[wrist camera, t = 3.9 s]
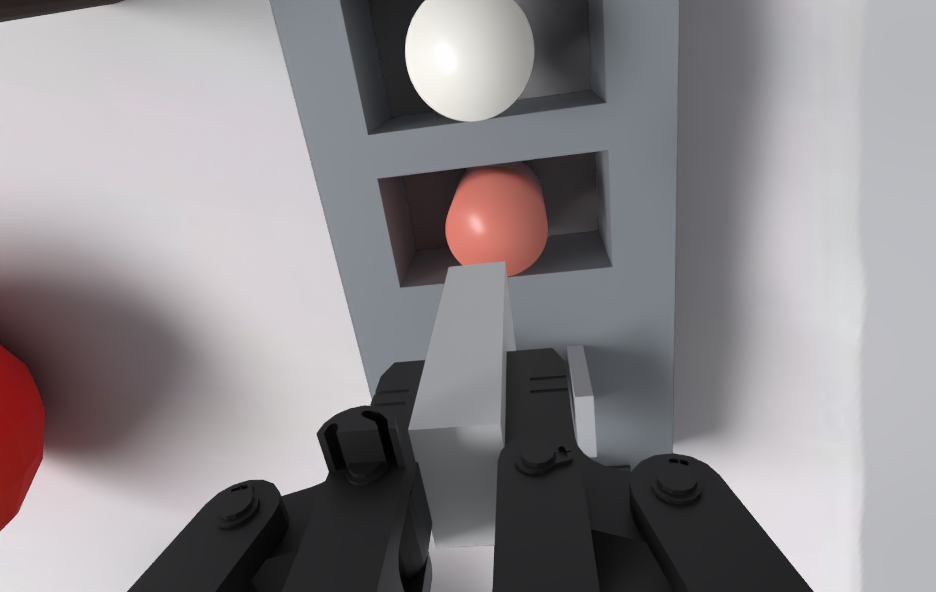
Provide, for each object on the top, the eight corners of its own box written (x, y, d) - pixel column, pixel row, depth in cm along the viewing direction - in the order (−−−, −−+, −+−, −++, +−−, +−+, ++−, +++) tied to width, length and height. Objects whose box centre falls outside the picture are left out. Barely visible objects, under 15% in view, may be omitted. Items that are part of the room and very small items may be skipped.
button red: (449, 162, 25) (437, 186, 22) (539, 150, 25) (543, 174, 21) (462, 245, 27) (453, 282, 23) (546, 236, 27) (551, 272, 23)
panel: (305, -21, 24) (208, -40, 16) (650, -80, 22) (719, -133, 14) (416, 462, 35) (388, 582, 27) (652, 448, 33) (692, 574, 25)
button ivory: (416, -2, 21) (393, -8, 17) (525, -21, 20) (528, -30, 16) (434, 110, 23) (417, 129, 19) (535, 96, 22) (539, 112, 18)
